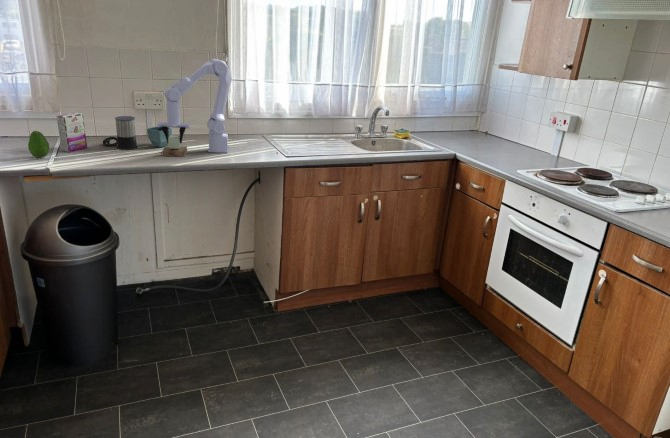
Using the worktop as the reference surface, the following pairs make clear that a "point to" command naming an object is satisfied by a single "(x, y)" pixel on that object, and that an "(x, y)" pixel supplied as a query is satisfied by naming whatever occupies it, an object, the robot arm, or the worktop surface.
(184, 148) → the base slab
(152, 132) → the flower pot
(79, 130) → the candy bar box
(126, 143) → the milk frother
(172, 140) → the cube
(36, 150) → the avocado
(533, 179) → the worktop surface
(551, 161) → the worktop surface
